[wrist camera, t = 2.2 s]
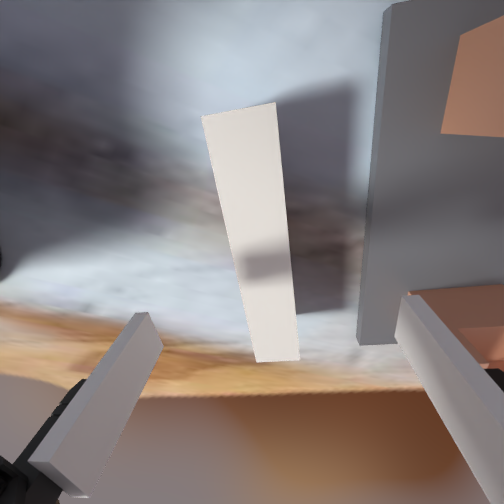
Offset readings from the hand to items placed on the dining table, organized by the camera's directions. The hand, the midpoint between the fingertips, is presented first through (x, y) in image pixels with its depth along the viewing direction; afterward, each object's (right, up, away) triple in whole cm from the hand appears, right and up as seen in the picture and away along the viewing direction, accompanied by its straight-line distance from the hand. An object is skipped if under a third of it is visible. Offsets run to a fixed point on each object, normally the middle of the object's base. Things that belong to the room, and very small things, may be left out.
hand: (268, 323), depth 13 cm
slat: (0, +5, +10) cm, 11 cm away
